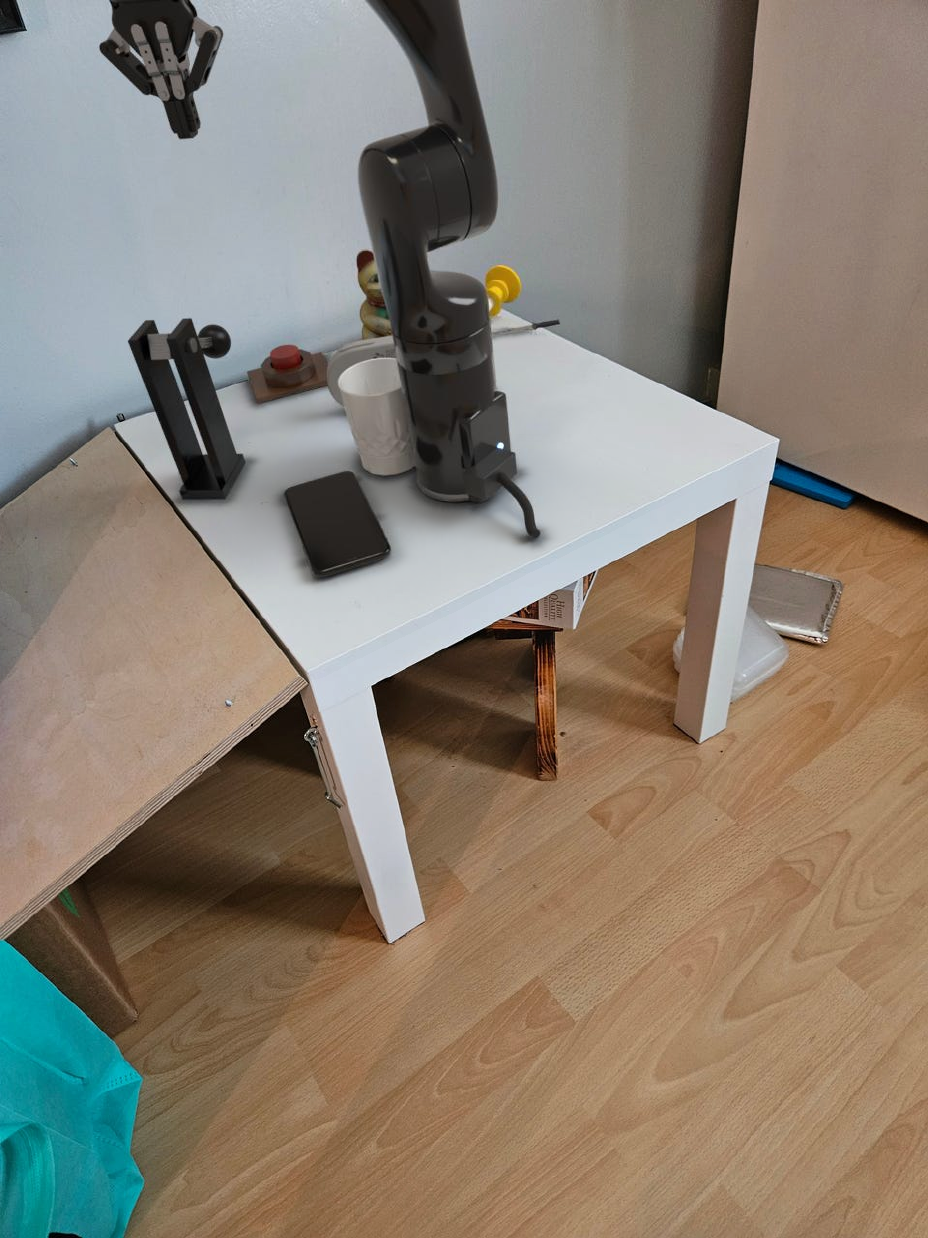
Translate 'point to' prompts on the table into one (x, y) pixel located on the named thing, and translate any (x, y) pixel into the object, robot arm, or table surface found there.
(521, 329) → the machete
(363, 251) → the decorative figurine
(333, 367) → the white rounded panel
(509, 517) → the table surface
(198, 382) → the bracket
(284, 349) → the button
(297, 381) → the button block
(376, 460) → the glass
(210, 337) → the tap lever
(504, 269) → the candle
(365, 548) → the smartphone
